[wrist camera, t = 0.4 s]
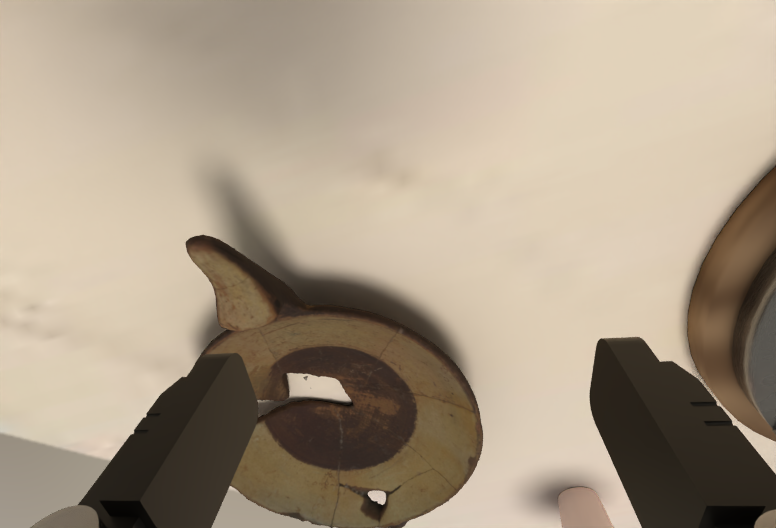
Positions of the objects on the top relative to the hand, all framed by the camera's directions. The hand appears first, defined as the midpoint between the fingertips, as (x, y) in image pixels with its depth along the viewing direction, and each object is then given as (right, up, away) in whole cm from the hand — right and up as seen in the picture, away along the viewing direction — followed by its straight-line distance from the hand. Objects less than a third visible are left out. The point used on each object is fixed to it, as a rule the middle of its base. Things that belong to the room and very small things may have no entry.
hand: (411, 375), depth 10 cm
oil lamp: (-4, -6, +25) cm, 26 cm away
